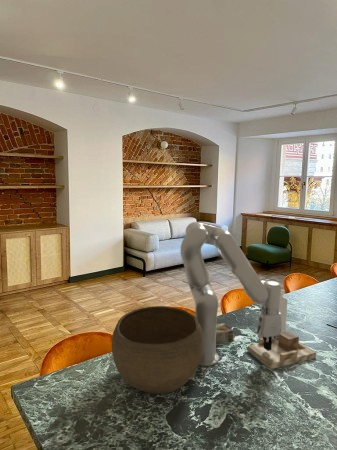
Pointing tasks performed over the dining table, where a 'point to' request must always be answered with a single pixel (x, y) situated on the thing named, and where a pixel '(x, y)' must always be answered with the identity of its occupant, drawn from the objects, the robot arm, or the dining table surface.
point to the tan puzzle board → (280, 354)
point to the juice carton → (224, 333)
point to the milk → (283, 312)
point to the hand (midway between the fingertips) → (267, 348)
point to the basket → (157, 348)
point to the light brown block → (288, 341)
